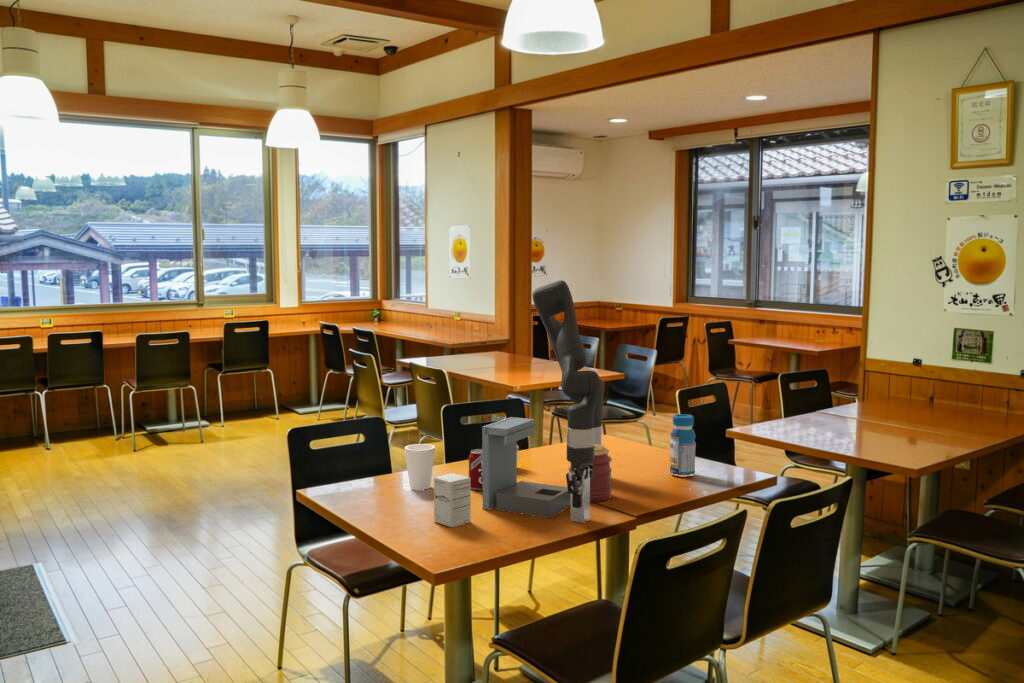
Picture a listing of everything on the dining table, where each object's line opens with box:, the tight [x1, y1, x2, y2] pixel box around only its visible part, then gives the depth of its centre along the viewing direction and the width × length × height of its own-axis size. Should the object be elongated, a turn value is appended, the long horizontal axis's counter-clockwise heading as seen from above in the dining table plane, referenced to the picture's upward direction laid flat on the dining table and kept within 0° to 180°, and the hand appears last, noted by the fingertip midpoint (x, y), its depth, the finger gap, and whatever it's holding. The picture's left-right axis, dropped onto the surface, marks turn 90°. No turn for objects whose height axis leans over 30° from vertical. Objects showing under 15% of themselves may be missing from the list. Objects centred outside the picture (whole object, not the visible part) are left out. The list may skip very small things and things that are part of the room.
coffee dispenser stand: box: [481, 416, 535, 510], centre depth 245 cm, size 17×8×24 cm, turn 151°
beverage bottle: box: [669, 413, 697, 475], centre depth 277 cm, size 8×8×20 cm
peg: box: [569, 477, 591, 524], centre depth 229 cm, size 4×4×12 cm
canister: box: [568, 443, 613, 503], centre depth 252 cm, size 13×13×18 cm
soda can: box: [468, 448, 483, 491], centre depth 262 cm, size 7×7×12 cm
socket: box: [495, 480, 571, 519], centre depth 242 cm, size 15×17×5 cm
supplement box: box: [433, 472, 472, 528], centre depth 228 cm, size 7×7×13 cm
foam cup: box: [404, 443, 436, 491], centre depth 263 cm, size 10×9×13 cm
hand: (580, 504), depth 229 cm, fingers open, 4 cm apart
